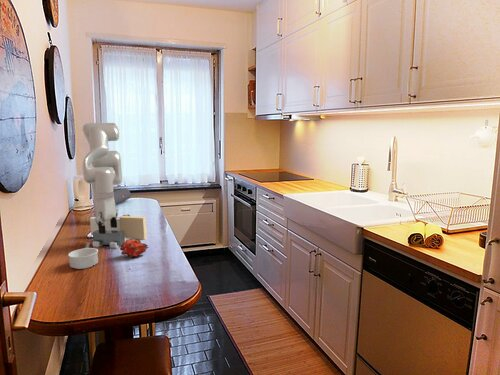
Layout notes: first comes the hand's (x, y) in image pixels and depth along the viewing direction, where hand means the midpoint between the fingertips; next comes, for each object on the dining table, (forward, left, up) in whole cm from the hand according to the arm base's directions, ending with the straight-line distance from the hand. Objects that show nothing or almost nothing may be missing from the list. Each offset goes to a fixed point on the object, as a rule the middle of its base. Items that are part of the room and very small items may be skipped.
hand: (108, 230), depth 178 cm
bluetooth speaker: (-87, -48, -7) cm, 100 cm away
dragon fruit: (+13, +20, -7) cm, 25 cm away
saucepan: (+22, +3, -7) cm, 23 cm away
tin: (-22, -6, -7) cm, 24 cm away
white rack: (-4, -2, -7) cm, 8 cm away
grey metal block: (0, 0, -7) cm, 7 cm away
